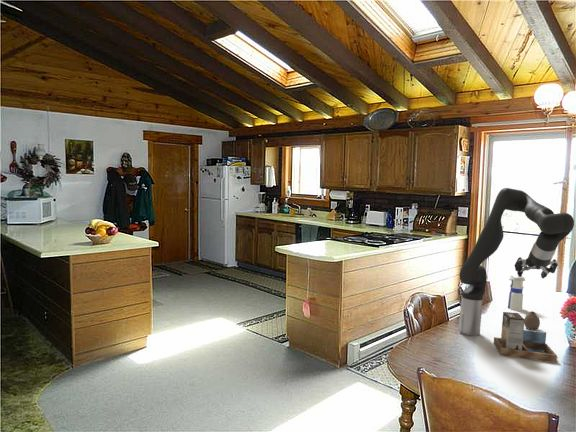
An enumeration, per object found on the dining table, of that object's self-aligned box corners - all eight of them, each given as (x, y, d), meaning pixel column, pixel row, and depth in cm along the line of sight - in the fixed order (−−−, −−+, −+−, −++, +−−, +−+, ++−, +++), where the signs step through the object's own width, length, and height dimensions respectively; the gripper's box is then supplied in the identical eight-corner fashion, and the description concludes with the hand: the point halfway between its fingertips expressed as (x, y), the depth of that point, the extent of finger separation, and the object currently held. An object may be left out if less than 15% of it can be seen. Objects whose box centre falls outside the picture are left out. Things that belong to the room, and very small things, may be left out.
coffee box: (499, 346, 188) (502, 311, 186) (515, 347, 186) (518, 312, 185) (506, 354, 179) (509, 317, 177) (522, 356, 177) (525, 319, 176)
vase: (533, 332, 208) (535, 314, 208) (520, 327, 215) (522, 310, 214) (542, 330, 212) (543, 313, 211) (528, 325, 218) (530, 309, 217)
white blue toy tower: (504, 306, 253) (507, 265, 251) (519, 307, 252) (522, 266, 250) (509, 310, 245) (512, 268, 243) (525, 311, 244) (528, 269, 242)
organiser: (500, 355, 177) (502, 337, 177) (493, 343, 191) (494, 326, 190) (556, 362, 172) (558, 343, 171) (545, 349, 185) (546, 332, 185)
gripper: (560, 245, 163) (547, 269, 174) (520, 243, 166) (510, 267, 178) (565, 260, 158) (551, 284, 169) (524, 258, 161) (513, 282, 173)
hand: (530, 275), depth 173 cm, fingers open, 8 cm apart
